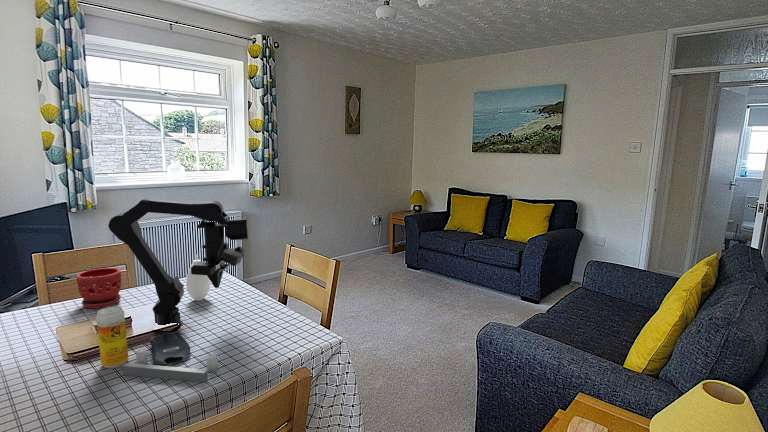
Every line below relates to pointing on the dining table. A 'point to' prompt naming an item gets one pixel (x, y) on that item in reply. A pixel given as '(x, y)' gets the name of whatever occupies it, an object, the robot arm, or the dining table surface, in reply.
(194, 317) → the dining table surface
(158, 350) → the electronic device
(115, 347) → the yellow pill bottle
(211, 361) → the dock
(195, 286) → the sauce bottle
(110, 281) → the plant pot
